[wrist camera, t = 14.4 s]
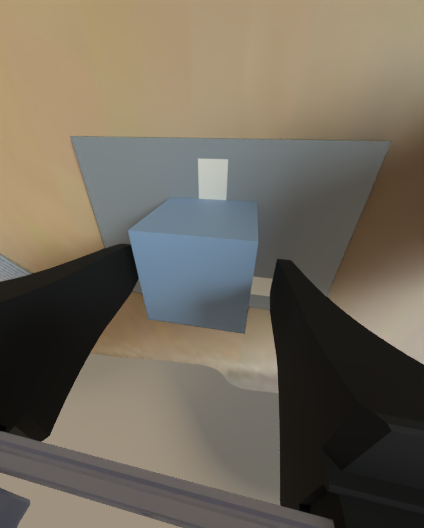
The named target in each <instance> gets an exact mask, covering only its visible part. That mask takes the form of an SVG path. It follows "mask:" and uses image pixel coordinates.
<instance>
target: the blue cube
mask: <svg viewBox="0 0 424 528" xmlns="http://www.w3.org/2000/svg"><path fill="white" fill-rule="evenodd" d="M128 233H129V238H130V242H131V246H132V251H133V255H134V259H135V264H136V268H137V272H138V277H139V281H140V285H141V290H142V294H143V298H144V303H145V307H146V311H147V316H148V319H150V320H157V321H163V322H170V323H177V324H183V325H190V326H197V327H203V328H210V329H217V330H223V331H230V332H237V333H243V334H245V328H246V321H247V314H248V308H249V301H250V294H251V288H252V281H253V274H254V267H255V261H256V254H257V247H258V217H257V202H247V201H230V200H213V199H197V198H180V197H171V198H169V199H168V200H167V201H165V202H164V203H163V204H162V205H160V206H159V207H158V208H156V209H155V210H154V211H152V212H151V213H150V214H149V215H147V216H146V217H145V218H143V219H142V220H141V221H139V222H138V223H137V224H136V225H134V226H133V227H132V228H130V229H129V230H128Z"/></svg>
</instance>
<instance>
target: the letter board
mask: <svg viewBox="0 0 424 528" xmlns="http://www.w3.org/2000/svg"><path fill="white" fill-rule="evenodd" d="M70 137H71V140H72V143H73V147H74V150H75V153H76V156H77V159H78V163H79V166H80V169H81V172H82V175H83V179H84V182H85V185H86V188H87V191H88V195H89V198H90V201H91V204H92V207H93V211H94V214H95V217H96V220H97V223H98V227H99V230H100V233H101V236H102V239H103V243H104V246H105V248H108V247H111V246H114V245H117V244H131V242H130V238H129V233H128V230H129V229H130V228H132V227H133V226H134V225H136V224H137V223H138V222H139V221H141V220H142V219H143V218H145V217H146V216H147V215H149V214H150V213H151V212H152V211H154V210H155V209H156V208H158V207H159V206H160V205H162V204H163V203H164V202H165V201H167V200H168V199H169V198H171V197H180V198H197V199H213V200H230V201H247V202H257V217H258V247H257V254H256V261H255V267H254V274H253V281H252V288H251V294H250V301H249V307H253V308H261V309H269V310H270V289H271V284H272V280H273V275H274V270H275V266H276V261H277V259H285V260H291V261H292V262H293V263H294V264H295V265H296V266H297V267H298V268H299V269H300V270H301V271H302V273H303V274H304V275H305V276H306V277H307V278H308V279H309V280H310V281H311V282H312V283H313V284H314V285H315V286H316V287H317V288H318V289H319V290H320V291H321V292H322V293H323V294H324V295H325V296H326V297H327V294H328V292H329V290H330V287H331V285H332V282H333V280H334V278H335V275H336V273H337V271H338V268H339V266H340V263H341V261H342V259H343V256H344V254H345V251H346V249H347V247H348V244H349V242H350V239H351V237H352V235H353V232H354V230H355V228H356V225H357V223H358V220H359V218H360V216H361V213H362V211H363V208H364V206H365V204H366V201H367V199H368V197H369V194H370V192H371V189H372V187H373V185H374V182H375V180H376V177H377V175H378V173H379V170H380V168H381V166H382V163H383V161H384V158H385V156H386V154H387V151H388V149H389V146H390V144H391V142H392V141H350V140H285V139H221V138H156V137H91V136H70ZM132 292H138V293H142V290H141V285H140V281H139V279H138V281H137V283H136V285H135V287H134V289H133V291H132Z"/></svg>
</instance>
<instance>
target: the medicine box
mask: <svg viewBox="0 0 424 528" xmlns="http://www.w3.org/2000/svg"><path fill="white" fill-rule="evenodd" d="M29 274H32V273H31V272H29V271H28V270H26V269H24V268H23V267H21V266H19V265H18V264H16V263H15V262H13V261H11V260H10V259H8V258H6V257H4V256H3V255H1V254H0V282H1V281H5V280H10V279H14V278H18V277H22V276H26V275H29Z"/></svg>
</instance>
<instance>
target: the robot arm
mask: <svg viewBox="0 0 424 528" xmlns="http://www.w3.org/2000/svg"><path fill="white" fill-rule="evenodd" d="M138 279H139V277H138V272H137V268H136V264H135V259H134V255H133V251H132V246H131V244H117V245H114V246H111V247H108V248H105V249H102V250H100V251H97V252H94V253H92V254H89V255H86V256H84V257H81V258H78V259H76V260H73V261H70V262H67V263H64V264H61V265H59V266H56V267H53V268H50V269H47V270H43V271H40V272H37V273H33V274H29V275H26V276H22V277H18V278H14V279H10V280H5V281H1V282H0V473H4V474H7V475H10V476H14V477H17V478H21V479H24V480H27V481H30V482H33V483H37V484H40V485H44V486H47V487H50V488H53V489H57V490H60V491H63V492H67V493H70V494H73V495H77V496H80V497H83V498H86V499H90V500H93V501H96V502H100V503H103V504H106V505H109V506H113V507H116V508H120V509H123V510H126V511H129V512H133V513H136V514H139V515H143V516H146V517H150V518H152V519H156V520H159V521H162V522H166V523H169V524H173V525H176V526H179V527H182V528H424V365H423V364H422V363H420V362H418V361H416V360H415V359H413V358H411V357H410V356H408V355H406V354H405V353H403V352H401V351H400V350H398V349H397V348H395V347H393V346H392V345H390V344H389V343H387V342H386V341H384V340H383V339H381V338H380V337H378V336H377V335H375V334H374V333H372V332H371V331H369V330H368V329H367V328H365V327H364V326H362V325H361V324H360V323H358V322H357V321H356V320H354V319H353V318H352V317H350V316H349V315H348V314H346V313H345V312H344V311H343V310H341V309H340V308H339V307H338V306H337V305H335V304H334V303H333V302H332V301H331V300H330V299H329V298H328V297H326V296H325V295H324V294H323V293H322V292H321V291H320V290H319V289H318V288H317V287H316V286H315V285H314V284H313V283H312V282H311V281H310V280H309V279H308V278H307V277H306V276H305V275H304V274H303V273H302V271H301V270H300V269H299V268H298V267H297V266H296V265H295V264H294V263H293V262H292V261H291V260H285V259H277V261H276V266H275V270H274V275H273V280H272V284H271V289H270V315H271V322H272V329H273V335H274V342H275V349H276V356H277V366H278V388H279V417H280V504H281V506H279V505H275V504H271V503H268V502H264V501H260V500H257V499H253V498H249V497H245V496H242V495H238V494H234V493H230V492H227V491H223V490H219V489H215V488H212V487H208V486H204V485H200V484H196V483H193V482H189V481H186V480H182V479H178V478H174V477H170V476H166V475H163V474H159V473H155V472H151V471H148V470H144V469H141V468H137V467H133V466H129V465H125V464H122V463H118V462H114V461H110V460H106V459H103V458H99V457H95V456H92V455H88V454H84V453H81V452H77V451H73V450H69V449H66V448H62V447H58V446H55V445H51V444H47V443H43V442H41V441H43V440H44V439H46V438H47V437H48V436H50V434H51V431H52V429H53V427H54V424H55V422H56V420H57V417H58V415H59V413H60V411H61V409H62V407H63V404H64V402H65V400H66V398H67V396H68V394H69V392H70V390H71V388H72V386H73V384H74V382H75V380H76V378H77V376H78V374H79V372H80V370H81V368H82V367H83V365H84V363H85V361H86V359H87V357H88V356H89V354H90V352H91V350H92V349H93V347H94V345H95V344H96V342H97V340H98V339H99V337H100V335H101V334H102V332H103V331H104V329H105V328H106V326H107V325H108V324H109V322H110V321H111V320H112V318H113V317H114V316H115V314H116V313H117V312H118V310H119V309H120V308H121V306H122V305H123V304H124V302H125V301H126V299H127V298H128V297H129V295H130V294H131V292H132V291H133V289H134V287H135V285H136V283H137V281H138ZM29 506H30V500H29V499H26V498H24V497H21V496H18V495H16V494H13V493H11V492H9V491H6V490H4V489H1V488H0V528H17V526H18V524H19V522H20V520H21V519H22V517H23V515H24V514H25V512H26V511H27V509H28V507H29Z"/></svg>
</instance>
